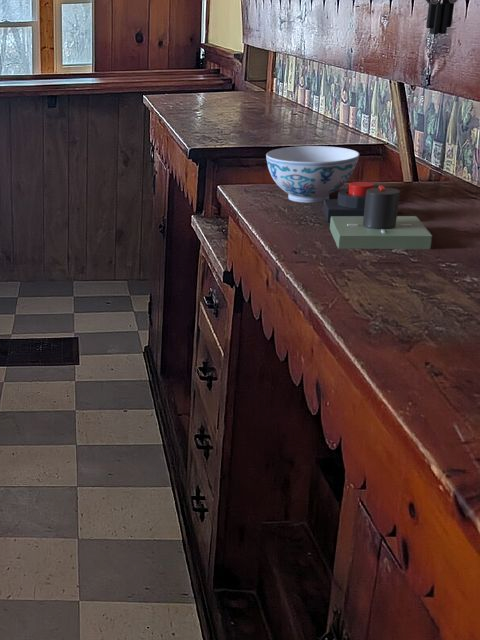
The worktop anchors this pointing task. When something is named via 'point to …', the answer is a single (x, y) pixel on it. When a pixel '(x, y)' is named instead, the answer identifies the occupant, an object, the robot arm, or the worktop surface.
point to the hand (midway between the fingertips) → (437, 33)
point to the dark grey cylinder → (381, 208)
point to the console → (379, 234)
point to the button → (359, 188)
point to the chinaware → (311, 170)
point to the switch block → (344, 205)
